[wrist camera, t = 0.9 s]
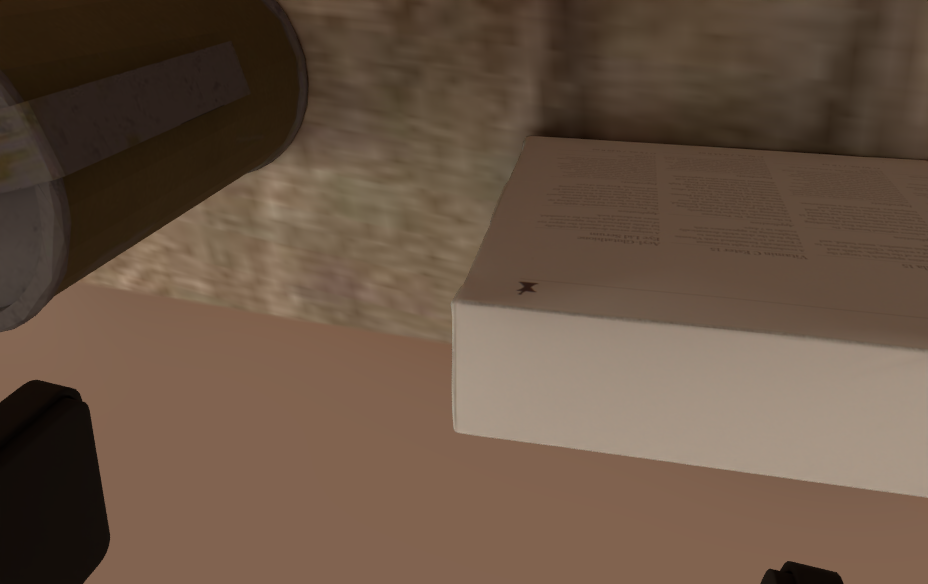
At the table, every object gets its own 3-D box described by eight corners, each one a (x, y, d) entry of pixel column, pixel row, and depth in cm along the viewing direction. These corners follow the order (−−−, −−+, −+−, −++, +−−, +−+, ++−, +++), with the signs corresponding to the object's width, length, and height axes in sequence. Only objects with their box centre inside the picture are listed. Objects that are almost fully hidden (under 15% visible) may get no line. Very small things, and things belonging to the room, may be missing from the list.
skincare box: (519, 240, 37) (444, 437, 23) (524, 132, 34) (443, 279, 20) (989, 284, 33) (1241, 553, 19) (1033, 166, 30) (1360, 375, 16)
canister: (166, 190, 40) (-207, 402, 22) (77, -12, 36) (-463, 55, 18) (346, 148, 36) (72, 360, 19) (269, -79, 32) (-166, -74, 15)
